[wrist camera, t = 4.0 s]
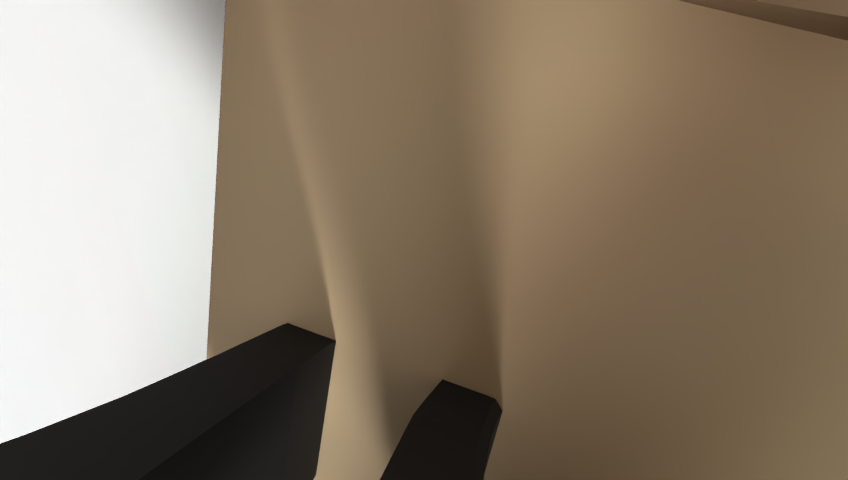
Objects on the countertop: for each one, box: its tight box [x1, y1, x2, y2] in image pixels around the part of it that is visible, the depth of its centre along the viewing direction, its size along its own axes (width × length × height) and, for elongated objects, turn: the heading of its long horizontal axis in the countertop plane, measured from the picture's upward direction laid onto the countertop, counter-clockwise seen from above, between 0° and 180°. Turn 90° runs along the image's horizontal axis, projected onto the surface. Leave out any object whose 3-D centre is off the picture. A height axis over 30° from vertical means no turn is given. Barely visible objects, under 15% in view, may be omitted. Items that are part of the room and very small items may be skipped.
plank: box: [207, 0, 848, 480], centre depth 9 cm, size 9×11×2 cm
